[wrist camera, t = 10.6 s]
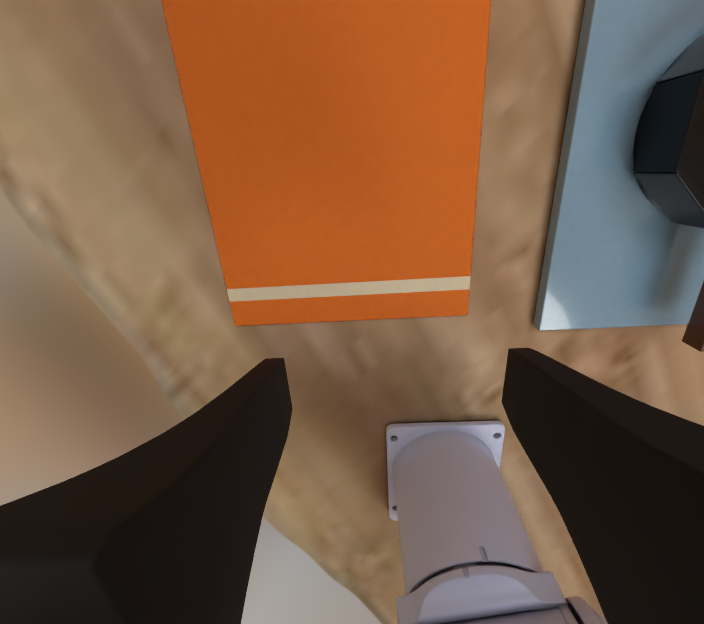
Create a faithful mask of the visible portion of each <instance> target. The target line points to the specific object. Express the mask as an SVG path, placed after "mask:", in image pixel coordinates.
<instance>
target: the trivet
mask: <svg viewBox="0 0 704 624" xmlns="http://www.w3.org/2000/svg"><path fill="white" fill-rule="evenodd" d="M703 34H704V0H586V1H585V7H584V13H583V20H582V26H581V32H580V38H579V44H578V51H577V57H576V63H575V69H574V75H573V82H572V88H571V94H570V100H569V106H568V113H567V119H566V125H565V131H564V137H563V144H562V150H561V156H560V162H559V168H558V175H557V181H556V187H555V193H554V199H553V206H552V212H551V218H550V224H549V230H548V237H547V243H546V249H545V255H544V261H543V267H542V274H541V280H540V286H539V292H538V298H537V305H536V311H535V317H534V323H533V325H534V326H535V327H536V328H537V329H538V330H539V331H543V330H566V329H588V328H611V327H634V326H657V325H679V324H688V323H689V320H690V317H691V314H692V312H693V309H694V306H695V303H696V300H697V298H698V295H699V292H700V289H701V287H702V284H703V281H704V228H698V227H693V226H687V225H682V224H676V223H673V222H670V220H669V219H668V218H667V216H666V215H665V214H664V212H663V211H661V210H659V209H658V208H657V207H655V206H654V205H653V204H652V203H651V202H650V201H649V200H648V199H647V198H646V197H645V195H644V193H643V192H642V190H641V189H640V186H639V184H638V182H637V179H636V176H635V175H634V174H633V173H634V171H633V167H634V163H633V146H634V139H635V134H636V129H637V126H638V122H639V119H640V116H641V114H642V111H643V109H644V106H645V104H646V102H647V100H648V98H649V96H650V94H651V93H652V89H653V86H654V85H656V84H655V82H656V81H658V80H659V79H660V78H661V77H662V75H663V74H664V73H665V71H666V70H667V69H668V68H669V66H670V65H671V64H672V63H673V61H674V60H675V59H676V58H677V57H678V56H679V55H680V54H681V53H682V52H683V51H684V50H685V49H686V48H687V47H688V46H689V45H691V44H692V43H693V42H694V41H695V40H696V39H697V38H699V37H700V36H701V35H703Z"/></svg>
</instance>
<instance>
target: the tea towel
mask: <svg viewBox="0 0 704 624" xmlns="http://www.w3.org/2000/svg"><path fill="white" fill-rule="evenodd" d="M162 5H163V9H164V13H165V18H166V22H167V27H168V31H169V36H170V40H171V44H172V49H173V53H174V58H175V62H176V66H177V71H178V75H179V80H180V84H181V89H182V93H183V97H184V102H185V106H186V111H187V115H188V120H189V124H190V128H191V133H192V137H193V142H194V146H195V150H196V155H197V159H198V164H199V168H200V173H201V177H202V181H203V186H204V190H205V195H206V199H207V204H208V208H209V212H210V217H211V221H212V226H213V230H214V234H215V239H216V243H217V248H218V252H219V257H220V261H221V265H222V270H223V274H224V279H225V283H226V288H227V293H228V297H229V301H230V305H231V310H232V314H233V318H234V323H235V326H243V325H265V324H286V323H307V322H328V321H349V320H371V319H392V318H413V317H434V316H455V315H467V314H468V301H469V289H470V274H471V261H472V248H473V234H474V221H475V208H476V194H477V181H478V168H479V154H480V141H481V128H482V114H483V101H484V87H485V74H486V61H487V47H488V34H489V21H490V7H491V0H162Z"/></svg>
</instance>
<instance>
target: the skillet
mask: <svg viewBox="0 0 704 624" xmlns="http://www.w3.org/2000/svg"><path fill="white" fill-rule="evenodd" d="M655 84H656V85H654V86H653V89H652V93H651V94H650V96H649V98H648V100H647V102H646V104H645V106H644V109H643V111H642V114H641V116H640V119H639V122H638V126H637V129H636V134H635V139H634V146H633V163H634V167H633V171H634V173H633V174H634V175H635V176H636V179H637V182H638V184H639V186H640V189H641V190H642V192H643V193H644V195H645V197H646V198H647V199H648V200H649V201H650V202H651V203H652V204H653V205H654V206H655V207H657V208H658V209H659V210H661V211H663V212H664V214H665V215H666V216H667V218H668V219H669V220H670V222H673V223H676V224H682V225H687V226H693V227H698V228H704V34H703V35H701V36H700V37H699V38H697V39H696V40H695V41H694V42H693V43H692V44H691V45H689V46H688V47H687V48H686V49H685V50H684V51H683V52H682V53H681V54H680V55H679V56H678V57H677V58H676V59H675V60H674V61H673V63H672V64H671V65H670V66H669V68H668V69H667V70H666V71H665V73H664V74H663V75H662V77H661V78H660V79H659V80H658V81H656V82H655ZM682 341H683V342H684V343H686V344H688V345H690V346H691V347H693V348H695V349H697V350H699V351H704V281H703V284H702V287H701V289H700V292H699V295H698V298H697V300H696V303H695V306H694V309H693V312H692V314H691V317H690V320H689V323H688V325H687V328H686V331H685V334H684V336H683V339H682Z"/></svg>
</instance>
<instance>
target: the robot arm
mask: <svg viewBox="0 0 704 624" xmlns="http://www.w3.org/2000/svg"><path fill="white" fill-rule="evenodd" d="M502 404H503V406H504V409H505V411H506V414H507V417H508V419H509V421H510V424H511V426H512V429H513V431H514V432H515V434H516V436H517V438H518V440H519V441H520V443H521V445H522V447H523V448H524V450H525V452H526V454H527V455H528V457H529V459H530V461H531V462H532V464H533V466H534V467H535V469H536V471H537V473H538V474H539V476H540V478H541V480H542V481H543V483H544V485H545V486H546V488H547V490H548V492H549V493H550V495H551V497H552V499H553V501H554V503H555V504H556V506H557V508H558V510H559V512H560V514H561V516H562V518H563V521H564V523H565V525H566V527H567V529H568V532H569V534H570V536H571V538H572V540H573V543H574V545H575V547H576V549H577V551H578V554H579V556H580V558H581V561H582V563H583V565H584V568H585V570H586V572H587V575H588V577H589V579H590V582H591V584H592V586H593V589H594V591H595V593H596V596H597V598H598V601H599V603H600V606H601V608H602V611H603V613H604V616H605V617H604V616H603V615H602V614H601V613H599V612H598V611H597V610H595V609H594V608H592V607H591V606H590V605H588V604H587V603H586V601H584V600H583V599H582V598H580V597H577V596H574V597H568V598H564V596H563V594H562V592H561V590H560V588H559V585H558V583H557V581H556V579H555V577H554V575H553V573H552V572H550V571H549V572H545V571H544V569H543V566H542V564H541V562H540V560H539V557H538V555H537V553H536V551H535V549H534V546H533V544H532V542H531V540H530V537H529V535H528V533H527V531H526V528H525V526H524V524H523V522H522V519H521V517H520V515H519V513H518V510H517V508H516V506H515V504H514V501H513V499H512V497H511V495H510V493H509V490H508V488H507V486H506V484H505V481H504V479H503V477H502V475H501V472H500V470H499V469H500V462H501V455H502V448H503V441H504V434H505V426H504V425H503V423H502V422H501V421H469V422H435V423H401V424H390V425H388V426H387V428H386V438H387V467H388V496H389V517H390V518H391V519H392V520H395V521H398V523H399V534H400V544H401V554H402V565H403V575H404V585H405V595H403V596H399V597H397V598H396V601H397V615H398V624H704V426H702V425H699V424H697V423H694V422H691V421H688V420H686V419H683V418H680V417H678V416H675V415H673V414H670V413H668V412H665V411H662V410H660V409H657V408H655V407H652V406H650V405H647V404H645V403H643V402H640V401H638V400H636V399H633V398H631V397H629V396H627V395H625V394H623V393H620V392H618V391H616V390H614V389H612V388H609V387H607V386H605V385H603V384H601V383H599V382H597V381H595V380H593V379H591V378H589V377H587V376H585V375H583V374H581V373H579V372H577V371H575V370H573V369H571V368H569V367H567V366H566V365H564V364H562V363H560V362H558V361H556V360H554V359H552V358H550V357H548V356H546V355H544V354H542V353H540V352H538V351H535V350H533V349H530V348H513V349H509V351H508V358H507V366H506V373H505V381H504V388H503V396H502ZM291 414H292V403H291V397H290V391H289V385H288V379H287V373H286V367H285V362H284V358H271V359H265V360H263V361H262V362H260V363H259V364H258V365H257V366H255V367H254V368H253V369H252V370H250V371H249V372H248V373H247V374H245V375H244V376H243V377H242V378H241V379H239V380H238V381H237V382H236V383H234V384H233V385H232V386H231V387H229V388H228V389H227V390H226V391H224V392H223V393H222V394H220V395H219V396H218V397H216V398H215V399H214V400H212V401H211V402H209V403H208V404H207V405H205V406H204V407H203V408H201V409H200V410H199V411H197V412H196V413H194V414H193V415H191V416H190V417H188V418H187V419H185V420H184V421H182V422H180V423H179V424H177V425H176V426H174V427H172V428H171V429H169V430H167V431H166V432H164V433H162V434H161V435H159V436H157V437H155V438H153V439H152V440H150V441H148V442H146V443H144V444H142V445H140V446H138V447H137V448H135V449H133V450H131V451H129V452H127V453H125V454H123V455H121V456H119V457H118V458H115V459H113V460H111V461H109V462H107V463H104V464H102V465H101V466H98V467H96V468H94V469H91V470H89V471H87V472H85V473H82V474H80V475H78V476H76V477H74V478H71V479H68V480H66V481H64V482H61V483H59V484H56V485H54V486H51V487H49V488H46V489H44V490H41V491H38V492H35V493H33V494H30V495H28V496H25V497H23V498H20V499H17V500H15V501H12V502H10V503H7V504H4V505H2V506H0V624H241V619H242V613H243V607H244V602H245V597H246V592H247V587H248V582H249V576H250V571H251V567H252V562H253V557H254V551H255V547H256V543H257V538H258V533H259V529H260V525H261V520H262V516H263V512H264V509H265V505H266V502H267V498H268V495H269V492H270V489H271V486H272V483H273V480H274V477H275V474H276V471H277V468H278V465H279V461H280V458H281V455H282V452H283V449H284V446H285V443H286V439H287V436H288V431H289V426H290V420H291ZM495 433H498V434H495ZM494 434H495V435H494ZM391 436H396V437H391ZM605 618H606V619H605Z"/></svg>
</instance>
